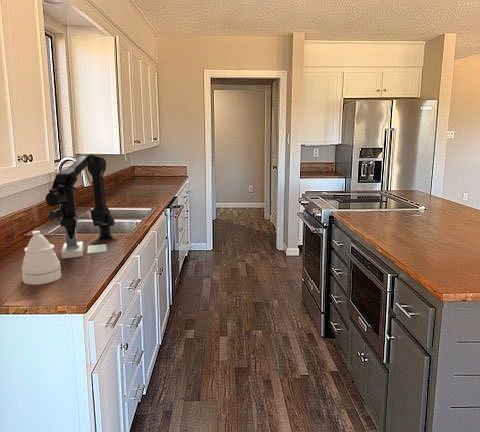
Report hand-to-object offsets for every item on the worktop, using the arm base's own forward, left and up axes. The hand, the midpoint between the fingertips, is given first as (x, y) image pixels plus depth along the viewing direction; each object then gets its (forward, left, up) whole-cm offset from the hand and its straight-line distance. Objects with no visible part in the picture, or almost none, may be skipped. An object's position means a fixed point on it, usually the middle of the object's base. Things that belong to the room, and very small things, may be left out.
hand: (71, 237), depth 191 cm
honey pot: (+31, -9, -7) cm, 33 cm away
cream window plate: (-1, 0, -7) cm, 7 cm away
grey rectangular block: (0, 0, -4) cm, 4 cm away
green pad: (-2, +10, -7) cm, 12 cm away
